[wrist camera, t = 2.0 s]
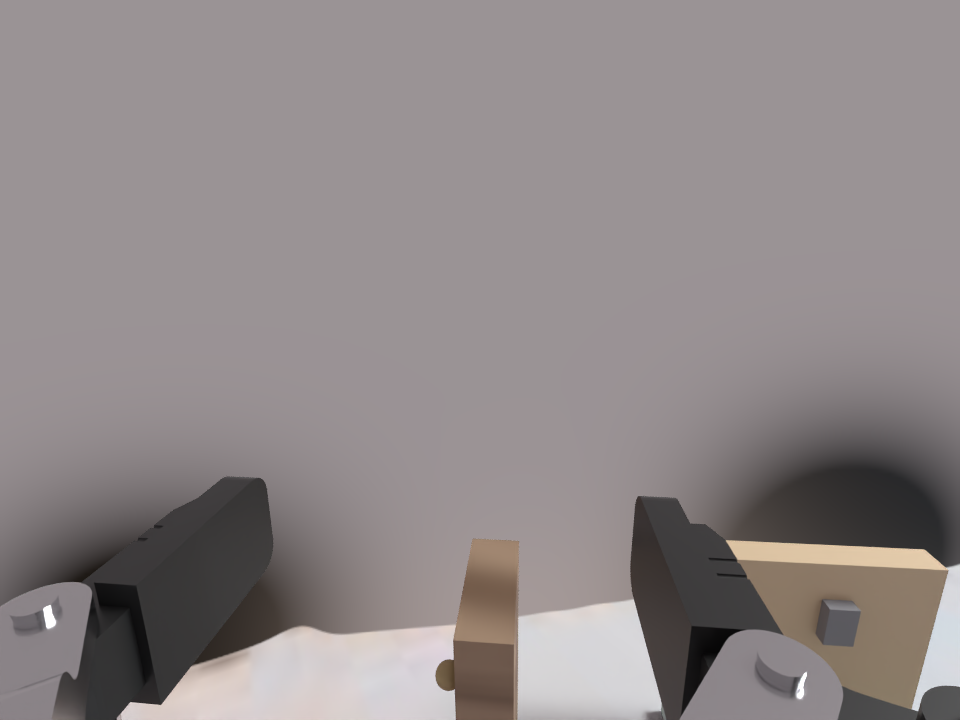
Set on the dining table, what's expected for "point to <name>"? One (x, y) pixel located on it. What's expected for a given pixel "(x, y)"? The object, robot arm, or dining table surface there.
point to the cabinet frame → (852, 608)
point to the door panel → (486, 635)
